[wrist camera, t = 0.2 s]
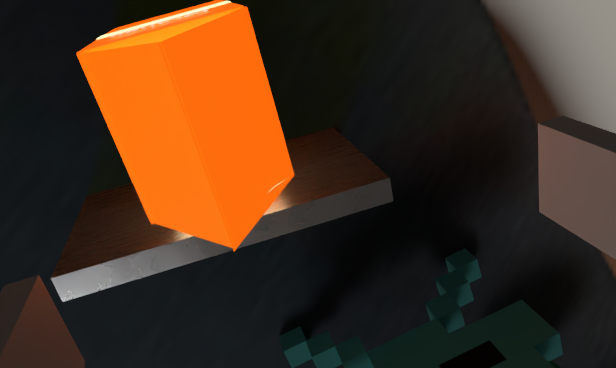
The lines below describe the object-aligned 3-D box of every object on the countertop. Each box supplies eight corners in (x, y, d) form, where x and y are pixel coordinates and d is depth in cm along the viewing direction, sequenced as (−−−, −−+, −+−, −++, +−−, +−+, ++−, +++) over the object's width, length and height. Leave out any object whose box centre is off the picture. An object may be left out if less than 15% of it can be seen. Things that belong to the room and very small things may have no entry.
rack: (-56, -137, 29) (-195, -211, 18) (272, -194, 32) (321, -288, 21) (94, 213, 39) (62, 301, 28) (336, 145, 41) (393, 201, 31)
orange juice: (158, 144, 38) (142, 285, 20) (112, 27, 34) (40, 70, 16) (256, 113, 39) (325, 222, 21) (221, -3, 35) (268, 6, 17)
